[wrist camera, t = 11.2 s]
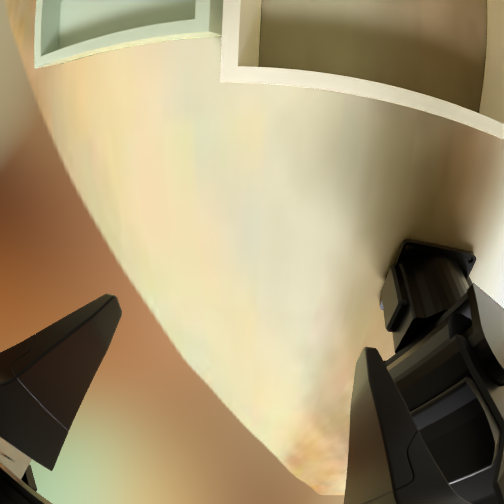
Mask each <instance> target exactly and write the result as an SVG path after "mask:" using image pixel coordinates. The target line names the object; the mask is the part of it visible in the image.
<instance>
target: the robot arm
mask: <svg viewBox="0 0 504 504" xmlns="http://www.w3.org/2000/svg"><path fill="white" fill-rule="evenodd" d="M408 245H410V248H406V246H408ZM469 258H471V259H470V260H468V259H469ZM475 261H476V257H475V255H474V254H473V253H472V252H469V251H464V250H460V249H455V248H450V247H446V246H441V245H436V244H431V243H426V242H421V241H416V240H411V239H406V240H404V241H403V242H402V244H401V247H400V250H399V252H398V255H397V258H396V261H395V264H393V265H392V266H390V268H389V271H388V274H387V277H386V279H385V282H384V285H383V287H382V290H381V296H382V298H381V300H380V303H379V304H380V309H382V310H384V318H385V326H386V329H387V331H388V332H393V340H394V349H395V353H396V354H395V355H394V356H392V357H391V358H390V359H388V360H387V361H383V360H382V358H381V356H380V354H379V352H378V351H377V349H376V348H371V347H365V348H364V349H363V350H362V352H361V354H360V356H359V358H358V360H357V363H356V369H355V377H354V385H353V393H352V400H351V410H350V435H349V453H348V467H347V479H346V489H345V498H344V504H504V309H503V308H502V307H501V306H500V305H499V304H498V303H497V302H495V301H494V300H493V299H492V298H491V297H490V296H488V295H487V294H486V293H485V292H484V291H483V290H481V289H480V288H479V287H478V286H477V285H475V284H474V283H473V284H472V281H471V279H470V277H469V274H470V272H471V270H472V268H473V266H474V263H475ZM121 314H122V311H121V307H120V304H119V301H118V298H117V297H116V296H115V295H112V294H105V295H103V296H101V297H99V298H98V299H96V300H94V301H92V302H90V303H89V304H87V305H85V306H83V307H81V308H80V309H78V310H77V311H75V312H73V313H71V314H69V315H67V316H66V317H64V318H62V319H60V320H59V321H57V322H55V323H53V324H52V325H50V326H48V327H47V328H45V329H43V330H41V331H40V332H38V333H36V335H35V334H34V335H33V336H31V337H30V338H28V339H26V340H24V341H22V342H20V343H19V344H17V345H15V346H13V347H11V348H9V349H7V350H5V351H3V352H1V353H0V504H52V503H51V502H49V501H48V500H46V499H45V498H44V497H42V496H41V495H39V494H38V493H37V492H36V491H37V487H36V484H35V480H34V477H33V473H32V469H31V465H29V463H30V462H31V459H33V460H34V461H36V462H38V463H39V464H41V465H42V466H44V467H46V468H47V469H49V470H51V471H52V470H53V468H54V466H55V463H56V461H57V458H58V456H59V453H60V450H61V448H62V446H63V444H64V441H65V439H66V436H67V434H68V431H69V429H70V427H71V425H72V422H73V420H74V418H75V416H76V413H77V411H78V409H79V407H80V405H81V403H82V400H83V398H84V396H85V394H86V392H87V389H88V388H89V386H90V384H91V382H92V380H93V378H94V376H95V373H96V371H97V370H98V367H99V366H100V364H101V362H102V359H103V358H104V356H105V354H106V351H107V350H108V348H109V345H110V343H111V340H112V338H113V335H114V333H115V330H116V328H117V325H118V323H119V320H120V318H121Z"/></svg>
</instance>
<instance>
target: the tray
mask: <svg viewBox="0 0 504 504" xmlns="http://www.w3.org/2000/svg"><path fill="white" fill-rule="evenodd" d="M222 19H223V0H37V3H36V16H35V43H34V55H35V69H36V68H41V67H46V66H51V65H57V64H62V63H65V62H69V61H72V60H76V59H79V58H83V57H86V56H90V55H94V54H98V53H102V52H107V51H111V50H116V49H121V48H126V47H131V46H137V45H143V44H149V43H156V42H163V41H171V40H180V39H191V38H205V37H222Z"/></svg>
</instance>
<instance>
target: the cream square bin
mask: <svg viewBox="0 0 504 504" xmlns="http://www.w3.org/2000/svg"><path fill="white" fill-rule="evenodd" d="M261 1H262V0H223V19H222V44H221V77H220V82H234V83H258V84H273V85H285V86H296V87H305V88H313V89H320V90H327V91H334V92H340V93H346V94H352V95H357V96H362V97H368V98H372V99H377V100H382V101H386V102H390V103H395V104H399V105H403V106H406V107H410V108H414V109H418V110H421V111H425V112H428V113H431V114H435V115H438V116H441V117H444V118H447V119H450V120H453V121H456V122H459V123H462V124H465V125H468V126H470V127H473V128H476V129H478V130H481V131H483V132H486V133H488V134H491V135H493V136H496V137H498V138H500V139H503V140H504V0H487V48H486V62H485V73H484V82H483V90H482V97H481V103H480V109H479V113H477V112H474V111H472V110H469V109H466V108H464V107H461V106H458V105H455V104H453V103H450V102H447V101H444V100H441V99H438V98H434V97H431V96H428V95H425V94H421V93H418V92H414V91H411V90H407V89H403V88H399V87H395V86H391V85H387V84H382V83H378V82H373V81H369V80H364V79H358V78H353V77H347V76H341V75H335V74H328V73H321V72H313V71H305V70H295V69H284V68H269V67H258V62H259V41H260V21H261Z"/></svg>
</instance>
